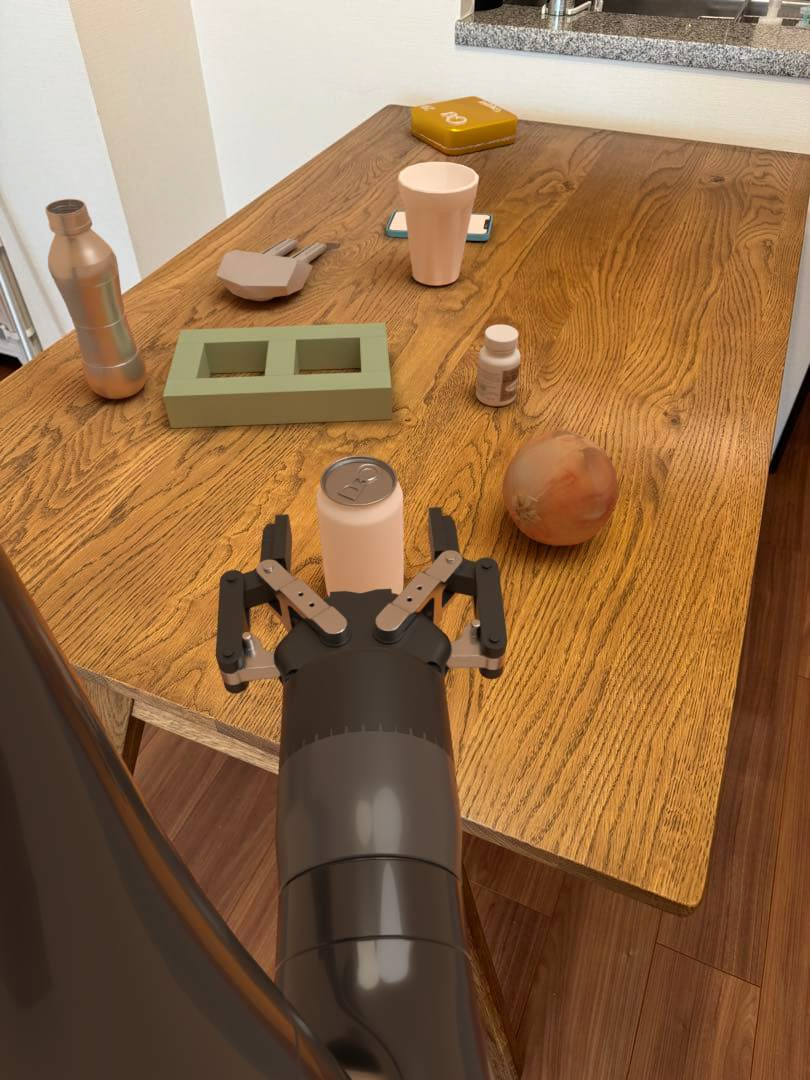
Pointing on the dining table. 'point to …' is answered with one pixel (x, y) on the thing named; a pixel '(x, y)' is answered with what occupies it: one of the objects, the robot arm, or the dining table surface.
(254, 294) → the turret
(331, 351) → the holder
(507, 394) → the pill bottle
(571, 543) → the onion
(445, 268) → the cup
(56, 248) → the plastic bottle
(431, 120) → the element tile
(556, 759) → the dining table surface
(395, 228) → the smartphone
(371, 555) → the can
